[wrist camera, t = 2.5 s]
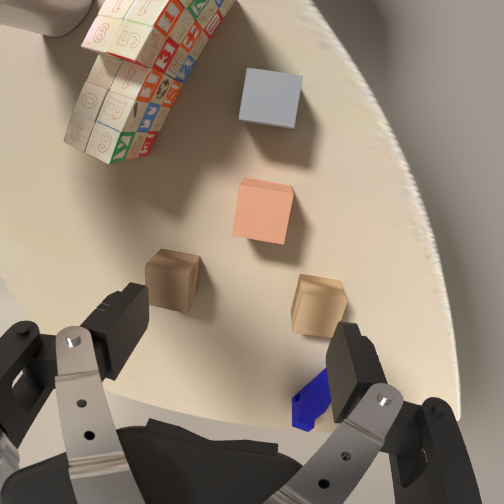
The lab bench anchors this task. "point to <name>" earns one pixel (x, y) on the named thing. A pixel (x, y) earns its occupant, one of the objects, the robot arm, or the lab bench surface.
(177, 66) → the stack of blocks
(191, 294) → the tan block
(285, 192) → the terracotta block
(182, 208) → the lab bench surface
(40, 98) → the lab bench surface
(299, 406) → the blue cradle bracket
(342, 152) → the lab bench surface
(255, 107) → the gray block
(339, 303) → the oak block
